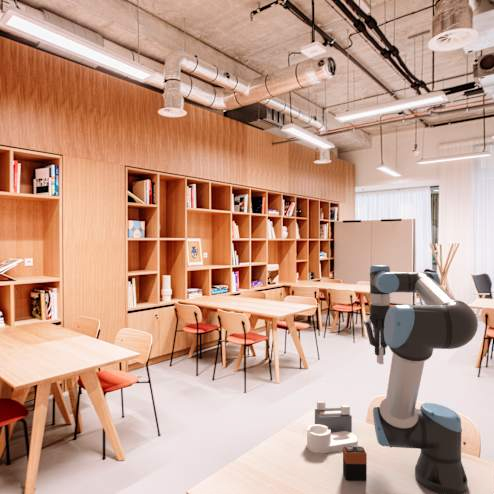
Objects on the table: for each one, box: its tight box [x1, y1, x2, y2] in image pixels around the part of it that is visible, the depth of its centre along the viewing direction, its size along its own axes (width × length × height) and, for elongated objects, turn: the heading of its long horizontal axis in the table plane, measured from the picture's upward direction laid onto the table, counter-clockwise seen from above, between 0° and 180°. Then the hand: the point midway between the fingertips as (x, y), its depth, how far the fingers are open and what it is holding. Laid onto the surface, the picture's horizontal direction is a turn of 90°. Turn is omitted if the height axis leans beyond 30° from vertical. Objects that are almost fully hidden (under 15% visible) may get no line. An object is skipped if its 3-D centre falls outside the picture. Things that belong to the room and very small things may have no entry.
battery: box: [342, 445, 368, 482], centre depth 127 cm, size 4×7×10 cm, turn 88°
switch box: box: [314, 407, 353, 433], centre depth 159 cm, size 8×13×7 cm, turn 94°
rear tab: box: [316, 400, 326, 410], centre depth 161 cm, size 2×3×3 cm, turn 95°
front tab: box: [340, 404, 351, 415], centre depth 156 cm, size 2×3×3 cm, turn 95°
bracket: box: [306, 423, 359, 454], centre depth 147 cm, size 20×9×7 cm, turn 105°
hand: (380, 363), depth 154 cm, fingers closed
